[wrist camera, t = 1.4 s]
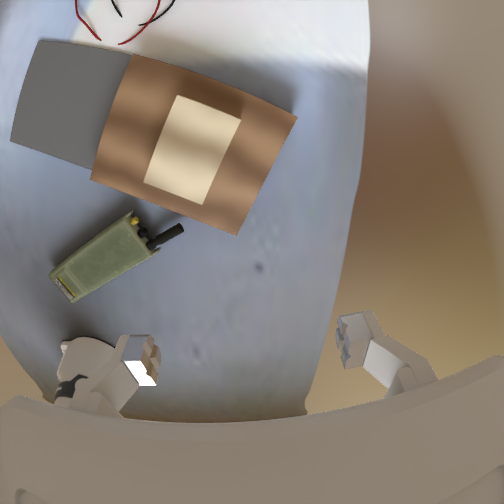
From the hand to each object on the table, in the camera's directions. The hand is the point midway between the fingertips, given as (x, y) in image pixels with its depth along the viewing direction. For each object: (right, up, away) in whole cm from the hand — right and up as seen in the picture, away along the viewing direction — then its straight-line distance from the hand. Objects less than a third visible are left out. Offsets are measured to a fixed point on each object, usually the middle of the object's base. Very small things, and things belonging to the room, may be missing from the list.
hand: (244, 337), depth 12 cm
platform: (-7, +17, +20) cm, 28 cm away
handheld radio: (-19, 0, +27) cm, 33 cm away
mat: (-25, +24, +15) cm, 38 cm away
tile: (-6, +15, +17) cm, 24 cm away
